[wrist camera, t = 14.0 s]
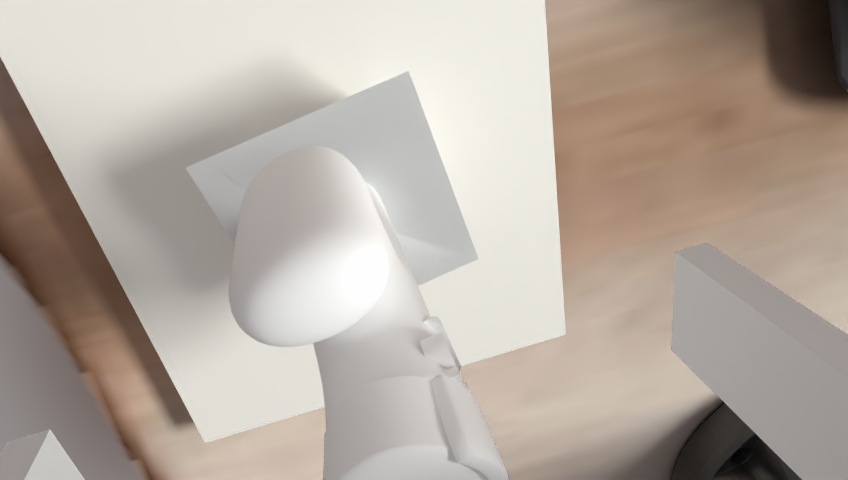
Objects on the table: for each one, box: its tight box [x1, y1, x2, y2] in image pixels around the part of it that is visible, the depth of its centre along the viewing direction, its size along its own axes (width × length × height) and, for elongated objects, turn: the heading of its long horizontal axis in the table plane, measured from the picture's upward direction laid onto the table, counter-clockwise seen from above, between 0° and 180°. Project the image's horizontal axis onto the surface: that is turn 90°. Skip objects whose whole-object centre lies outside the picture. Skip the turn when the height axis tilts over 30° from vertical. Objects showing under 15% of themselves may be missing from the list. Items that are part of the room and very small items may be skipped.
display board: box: [0, 0, 566, 443], centre depth 22 cm, size 22×18×2 cm
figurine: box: [186, 71, 509, 480], centre depth 15 cm, size 7×9×15 cm
